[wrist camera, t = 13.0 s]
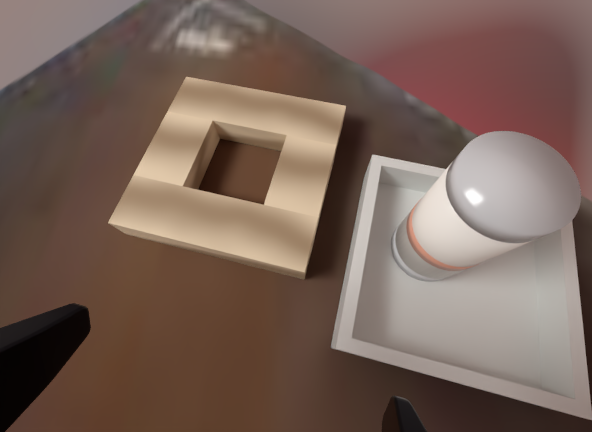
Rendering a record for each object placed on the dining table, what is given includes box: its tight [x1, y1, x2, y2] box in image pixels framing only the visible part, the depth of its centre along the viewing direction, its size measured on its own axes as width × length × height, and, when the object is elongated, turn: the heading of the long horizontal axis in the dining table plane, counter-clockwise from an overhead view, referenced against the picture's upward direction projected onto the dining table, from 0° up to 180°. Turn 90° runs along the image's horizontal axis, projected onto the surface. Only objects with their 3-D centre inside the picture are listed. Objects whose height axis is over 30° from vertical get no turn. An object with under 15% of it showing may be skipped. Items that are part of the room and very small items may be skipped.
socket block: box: [108, 77, 346, 280], centre depth 25 cm, size 15×15×2 cm
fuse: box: [391, 131, 581, 282], centre depth 18 cm, size 5×5×10 cm
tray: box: [331, 155, 592, 420], centre depth 21 cm, size 14×14×4 cm
